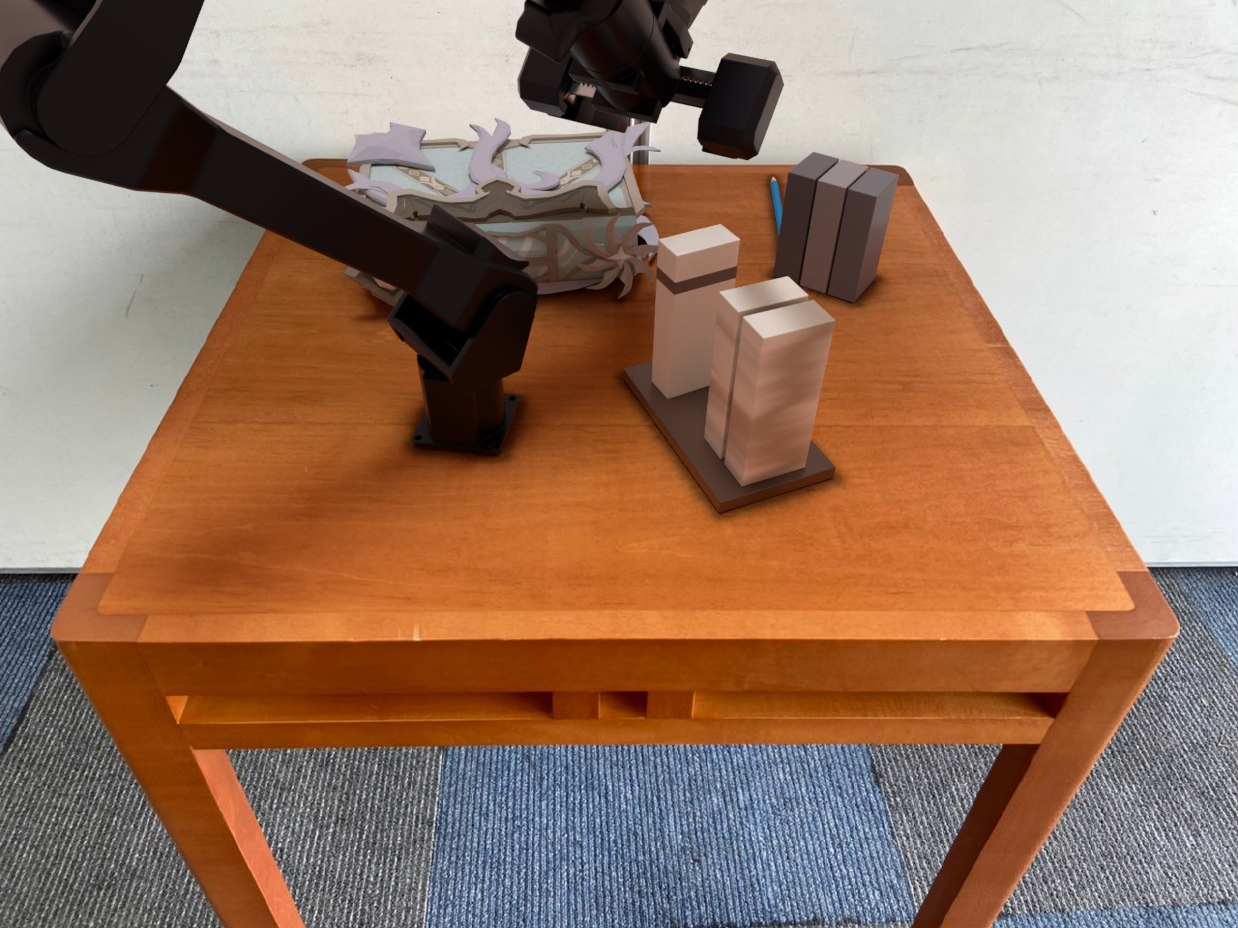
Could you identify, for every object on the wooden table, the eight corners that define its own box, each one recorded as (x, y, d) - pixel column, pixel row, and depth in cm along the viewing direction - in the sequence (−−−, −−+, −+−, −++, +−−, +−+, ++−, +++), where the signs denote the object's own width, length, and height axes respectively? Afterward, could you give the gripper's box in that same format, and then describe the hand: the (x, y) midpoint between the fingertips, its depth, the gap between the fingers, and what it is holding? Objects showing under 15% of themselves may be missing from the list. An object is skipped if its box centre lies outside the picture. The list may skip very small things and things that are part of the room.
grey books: (853, 303, 79) (877, 196, 73) (772, 276, 82) (788, 171, 76) (875, 279, 82) (899, 174, 76) (796, 253, 86) (813, 151, 79)
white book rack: (718, 513, 60) (739, 353, 51) (622, 378, 71) (625, 226, 62) (833, 477, 63) (871, 319, 54) (724, 353, 74) (741, 204, 65)
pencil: (781, 259, 85) (782, 253, 85) (768, 179, 98) (769, 173, 97) (789, 259, 85) (790, 253, 85) (776, 179, 98) (777, 173, 97)
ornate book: (345, 333, 76) (694, 300, 79) (317, 229, 70) (698, 197, 72) (363, 209, 93) (651, 185, 95) (341, 116, 86) (652, 93, 89)
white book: (667, 399, 67) (676, 256, 59) (650, 381, 69) (657, 239, 61) (724, 381, 69) (741, 239, 61) (706, 363, 71) (720, 223, 63)
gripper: (795, -73, 54) (825, 64, 68) (529, -109, 60) (609, 23, 75) (729, 104, 54) (773, 203, 68) (471, 49, 60) (562, 150, 75)
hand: (676, 139), depth 72 cm, fingers open, 9 cm apart
